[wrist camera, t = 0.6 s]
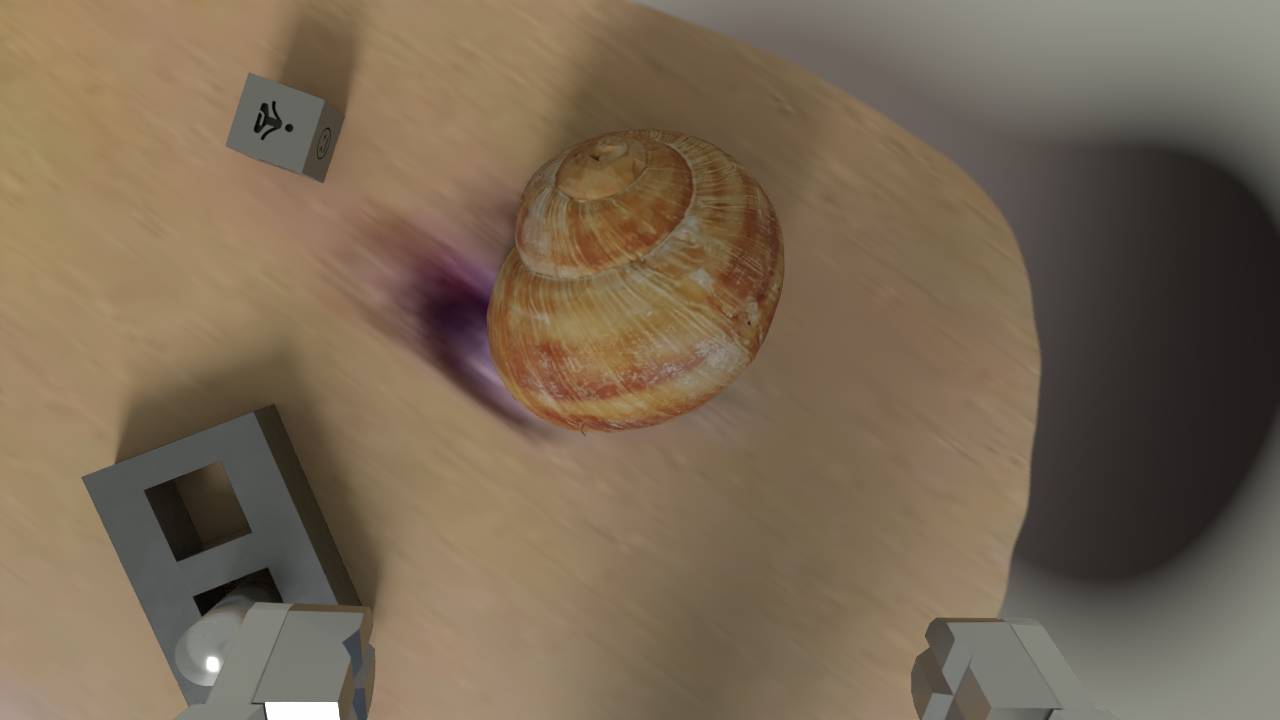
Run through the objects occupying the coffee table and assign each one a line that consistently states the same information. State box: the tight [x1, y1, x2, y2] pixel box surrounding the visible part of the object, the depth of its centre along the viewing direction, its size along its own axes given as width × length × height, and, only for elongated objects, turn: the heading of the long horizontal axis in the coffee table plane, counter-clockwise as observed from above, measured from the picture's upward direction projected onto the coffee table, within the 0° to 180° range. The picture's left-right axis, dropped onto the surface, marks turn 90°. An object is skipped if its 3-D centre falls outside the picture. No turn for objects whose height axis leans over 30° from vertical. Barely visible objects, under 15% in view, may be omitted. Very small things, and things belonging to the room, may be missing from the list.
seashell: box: [487, 129, 784, 435], centre depth 54 cm, size 21×20×15 cm
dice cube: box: [226, 73, 345, 183], centre depth 55 cm, size 5×5×5 cm
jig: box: [81, 404, 362, 707], centre depth 55 cm, size 18×12×10 cm, turn 21°
